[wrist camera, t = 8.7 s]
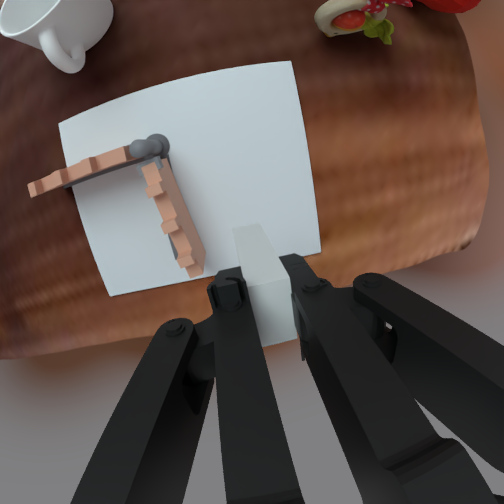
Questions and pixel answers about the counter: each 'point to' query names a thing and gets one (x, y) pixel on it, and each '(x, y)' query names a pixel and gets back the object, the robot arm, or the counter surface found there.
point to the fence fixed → (96, 165)
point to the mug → (57, 27)
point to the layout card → (196, 172)
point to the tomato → (450, 5)
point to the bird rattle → (357, 17)
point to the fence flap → (174, 214)
